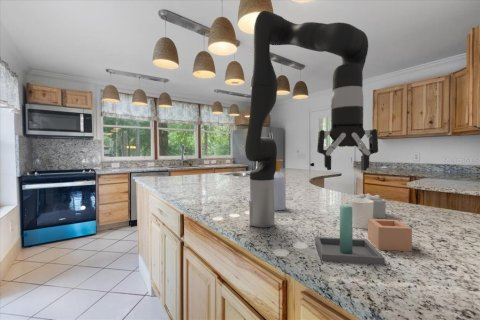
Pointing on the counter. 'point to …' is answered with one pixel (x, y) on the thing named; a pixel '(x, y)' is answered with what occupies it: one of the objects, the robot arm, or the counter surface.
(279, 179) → the soap bottle
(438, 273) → the counter surface
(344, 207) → the dowel
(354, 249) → the tray
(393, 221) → the pot
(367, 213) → the white cup
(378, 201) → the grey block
